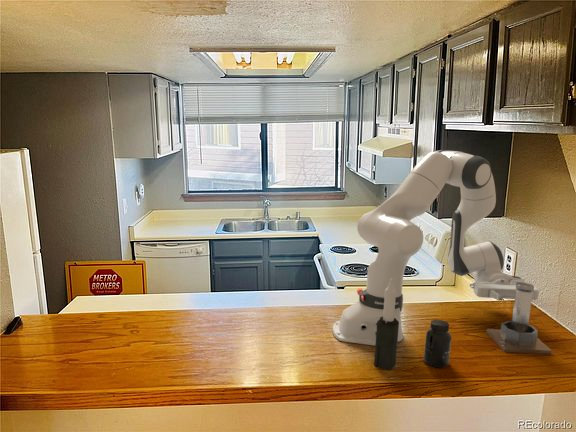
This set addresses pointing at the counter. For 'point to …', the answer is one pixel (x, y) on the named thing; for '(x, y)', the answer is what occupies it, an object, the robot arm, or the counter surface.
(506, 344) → the duct collar
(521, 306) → the grey tall capped cylinder
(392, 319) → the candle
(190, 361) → the counter surface
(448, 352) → the supplement bottle
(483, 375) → the counter surface
